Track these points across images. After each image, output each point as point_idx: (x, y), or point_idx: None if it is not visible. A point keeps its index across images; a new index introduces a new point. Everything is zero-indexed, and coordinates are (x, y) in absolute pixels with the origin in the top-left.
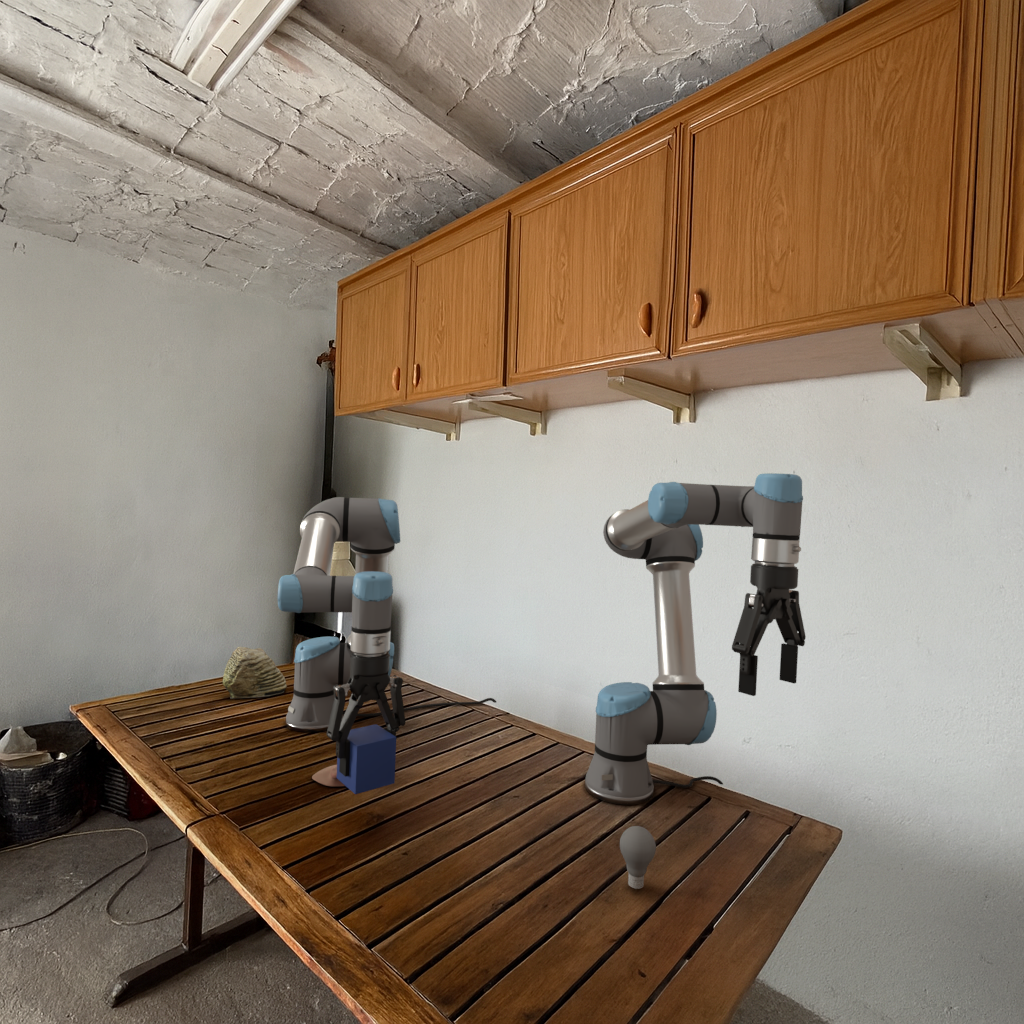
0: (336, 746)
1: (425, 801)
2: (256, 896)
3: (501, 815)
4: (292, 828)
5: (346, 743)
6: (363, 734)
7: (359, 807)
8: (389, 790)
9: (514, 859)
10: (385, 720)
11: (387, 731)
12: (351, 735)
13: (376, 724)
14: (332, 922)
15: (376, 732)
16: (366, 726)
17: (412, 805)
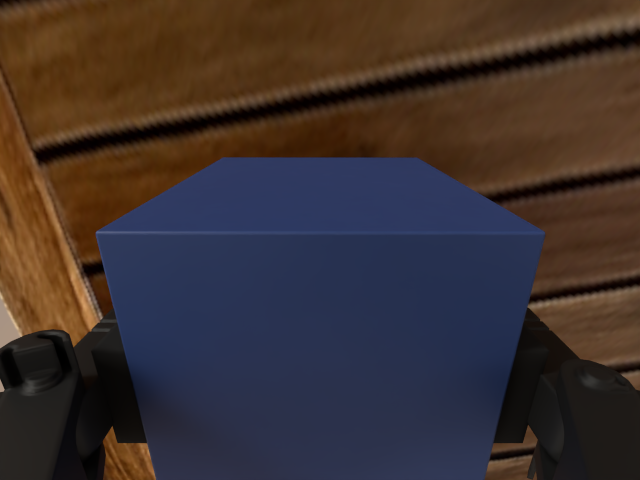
0: (80, 348)
1: (538, 182)
2: (22, 329)
3: (617, 349)
4: (133, 102)
5: (120, 434)
6: (293, 391)
7: (358, 96)
8: (507, 36)
9: (491, 466)
10: (565, 465)
11: (495, 428)
12: (190, 364)
13: (539, 245)
14: (140, 444)
15: (408, 406)
16: (421, 239)
17: (492, 182)
